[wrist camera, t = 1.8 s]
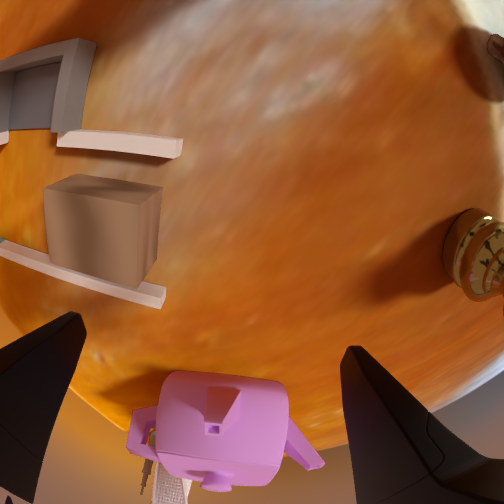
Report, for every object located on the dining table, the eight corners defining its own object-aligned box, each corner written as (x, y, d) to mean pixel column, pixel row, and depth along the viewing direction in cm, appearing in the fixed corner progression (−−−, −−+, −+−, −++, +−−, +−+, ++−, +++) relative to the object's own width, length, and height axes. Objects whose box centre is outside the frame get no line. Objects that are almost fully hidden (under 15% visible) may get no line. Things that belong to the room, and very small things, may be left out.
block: (163, 186, 19) (139, 205, 15) (157, 258, 21) (137, 288, 17) (77, 173, 18) (43, 188, 14) (78, 238, 21) (50, 262, 17)
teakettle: (135, 386, 30) (108, 465, 19) (227, 335, 25) (210, 458, 14) (225, 436, 36) (219, 504, 25) (320, 404, 30) (331, 489, 19)
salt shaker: (494, 200, 17) (566, 247, 9) (486, 267, 21) (540, 323, 12) (441, 213, 19) (520, 274, 10) (437, 285, 22) (490, 357, 13)
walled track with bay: (205, 41, 14) (197, 30, 12) (165, 298, 23) (157, 316, 21) (-23, 76, 12) (-38, 78, 9) (-22, 237, 21) (-34, 245, 19)
